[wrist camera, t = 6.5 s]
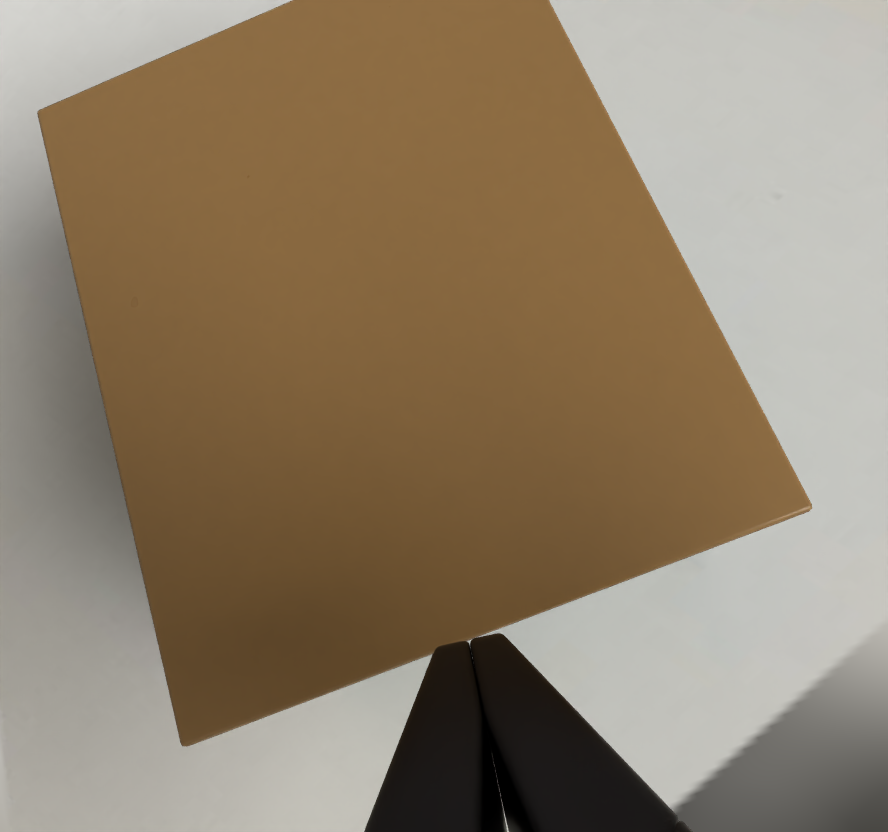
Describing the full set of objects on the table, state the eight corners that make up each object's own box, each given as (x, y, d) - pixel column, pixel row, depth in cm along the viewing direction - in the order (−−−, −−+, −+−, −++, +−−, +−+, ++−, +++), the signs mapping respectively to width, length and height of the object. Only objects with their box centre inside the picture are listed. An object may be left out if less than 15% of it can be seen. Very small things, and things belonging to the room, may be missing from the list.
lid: (57, 131, 18) (35, 109, 17) (504, -61, 17) (502, -93, 16) (201, 740, 13) (179, 749, 13) (800, 514, 13) (815, 508, 12)
